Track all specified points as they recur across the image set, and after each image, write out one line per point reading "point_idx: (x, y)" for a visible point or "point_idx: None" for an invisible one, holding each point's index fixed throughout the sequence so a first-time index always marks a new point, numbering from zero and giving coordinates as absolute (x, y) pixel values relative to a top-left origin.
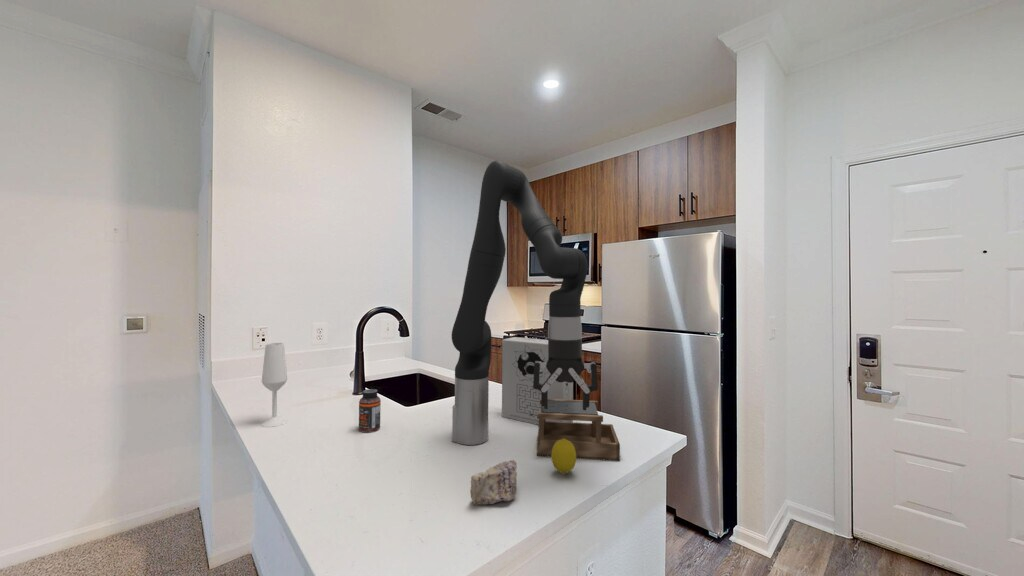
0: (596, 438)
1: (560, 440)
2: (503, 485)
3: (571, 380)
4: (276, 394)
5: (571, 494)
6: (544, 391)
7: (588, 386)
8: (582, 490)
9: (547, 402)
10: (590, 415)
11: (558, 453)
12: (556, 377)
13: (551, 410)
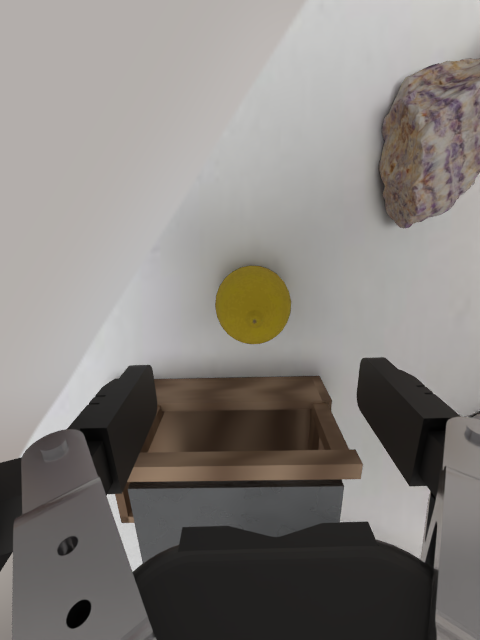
0: (156, 413)
1: (266, 317)
2: (442, 86)
3: (187, 555)
4: None
5: (230, 185)
6: (461, 423)
7: (21, 507)
8: (202, 212)
9: (381, 374)
10: (155, 475)
11: (270, 276)
12: (452, 584)
13: (304, 503)
